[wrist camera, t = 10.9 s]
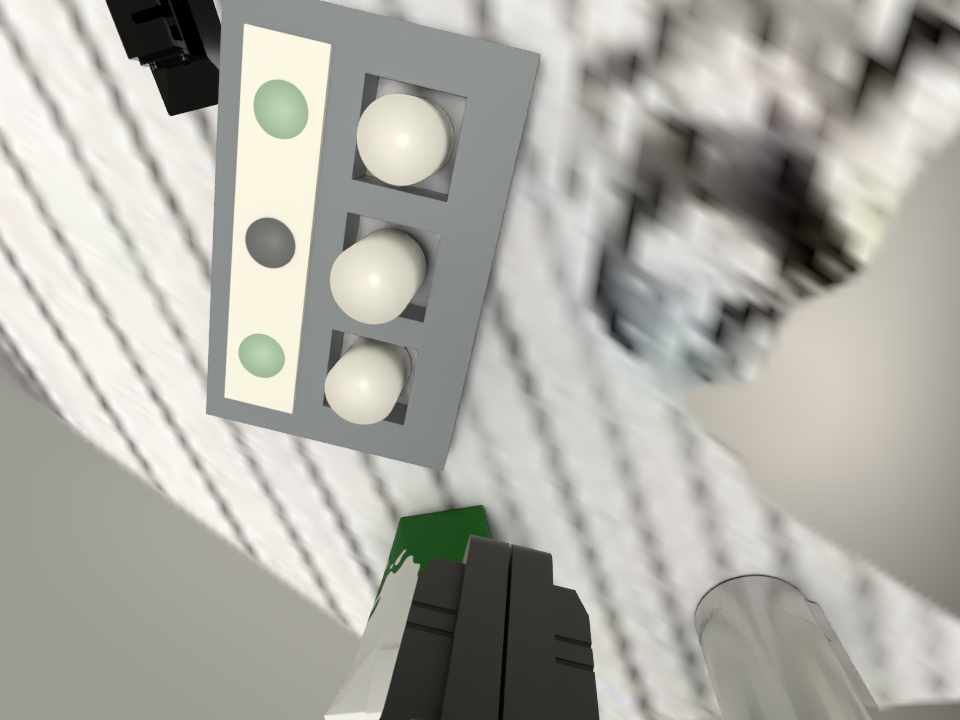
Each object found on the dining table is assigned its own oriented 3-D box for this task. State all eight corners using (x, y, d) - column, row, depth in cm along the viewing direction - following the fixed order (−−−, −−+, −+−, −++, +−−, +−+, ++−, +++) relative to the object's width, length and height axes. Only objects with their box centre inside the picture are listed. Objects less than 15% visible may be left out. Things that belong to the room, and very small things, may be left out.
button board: (540, 59, 35) (540, 54, 32) (448, 450, 46) (443, 471, 43) (248, -11, 35) (223, -23, 32) (226, 396, 46) (206, 413, 43)
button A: (416, 341, 42) (401, 368, 38) (405, 399, 44) (389, 431, 40) (351, 326, 42) (329, 351, 38) (343, 384, 44) (320, 415, 40)
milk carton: (515, 577, 50) (501, 844, 32) (415, 591, 52) (346, 851, 33) (490, 493, 47) (459, 733, 29) (385, 510, 49) (291, 747, 30)
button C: (460, 107, 36) (449, 105, 32) (445, 185, 38) (433, 194, 33) (385, 88, 36) (362, 84, 32) (374, 168, 38) (351, 174, 33)
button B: (432, 238, 38) (417, 254, 33) (419, 307, 40) (403, 332, 35) (359, 221, 38) (335, 235, 33) (350, 291, 40) (325, 313, 35)
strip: (333, 45, 33) (329, 43, 32) (294, 411, 42) (291, 415, 42) (247, 24, 33) (242, 22, 32) (227, 395, 42) (223, 398, 42)
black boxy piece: (268, 120, 38) (234, 120, 34) (169, 145, 40) (126, 148, 35) (194, -106, 34) (145, -138, 30) (86, -70, 35) (24, -95, 31)
